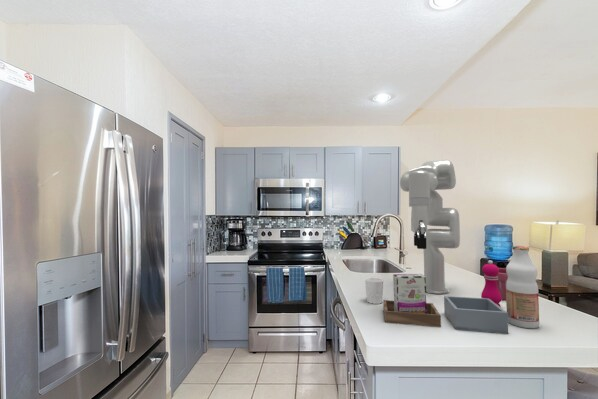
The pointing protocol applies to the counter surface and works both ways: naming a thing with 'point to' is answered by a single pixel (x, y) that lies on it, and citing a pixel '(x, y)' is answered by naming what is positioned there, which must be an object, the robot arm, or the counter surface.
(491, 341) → the counter surface
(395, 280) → the snack bar box
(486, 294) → the pepper mill
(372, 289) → the white cup
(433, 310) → the wooden rectangular frame
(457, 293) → the counter surface
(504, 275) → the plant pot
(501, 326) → the slate bin
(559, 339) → the counter surface
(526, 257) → the fruit juice
